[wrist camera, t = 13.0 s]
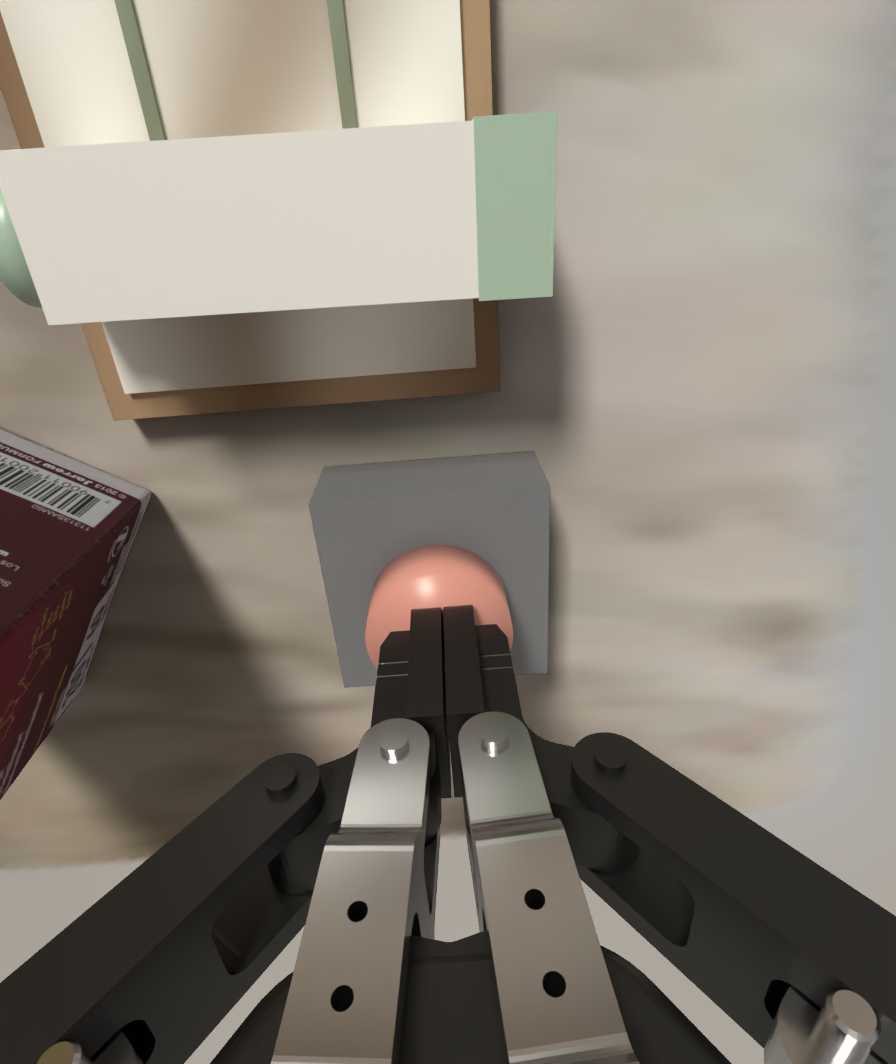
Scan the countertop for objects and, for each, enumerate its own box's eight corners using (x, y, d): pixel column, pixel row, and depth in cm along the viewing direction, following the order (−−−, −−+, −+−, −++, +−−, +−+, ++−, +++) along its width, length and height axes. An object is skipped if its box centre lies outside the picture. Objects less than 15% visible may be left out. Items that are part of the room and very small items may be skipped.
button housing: (354, 635, 20) (344, 687, 18) (324, 466, 17) (308, 503, 15) (534, 622, 20) (547, 672, 18) (533, 451, 17) (549, 486, 15)
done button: (379, 662, 17) (375, 700, 15) (361, 550, 15) (355, 582, 14) (507, 652, 17) (514, 690, 15) (504, 539, 15) (512, 571, 14)
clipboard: (127, 411, 16) (102, 427, 15) (-152, -442, 10) (-238, -540, 8) (497, 383, 16) (502, 397, 15) (470, -493, 9) (477, -601, 8)
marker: (6, 330, 11) (552, 296, 11) (-65, 150, 10) (557, 110, 10) (84, 310, 14) (529, 282, 14) (36, 164, 12) (530, 133, 12)
